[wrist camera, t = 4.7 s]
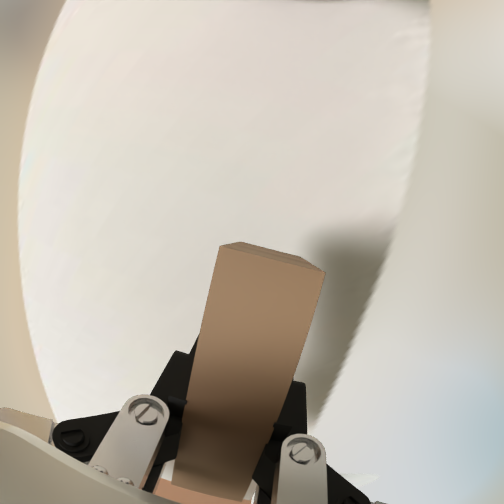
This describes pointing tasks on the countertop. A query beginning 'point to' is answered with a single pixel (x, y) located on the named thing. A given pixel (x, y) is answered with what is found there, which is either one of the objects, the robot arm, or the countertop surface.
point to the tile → (190, 495)
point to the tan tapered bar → (243, 366)
